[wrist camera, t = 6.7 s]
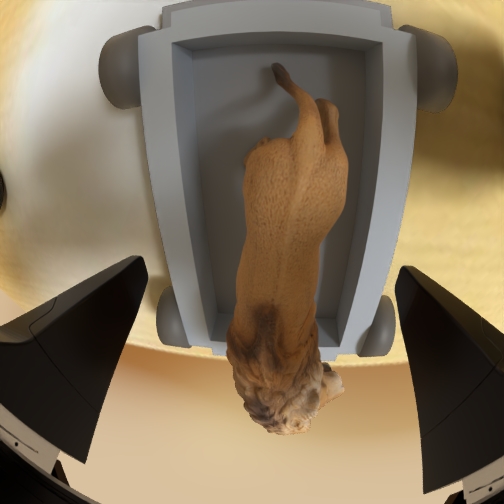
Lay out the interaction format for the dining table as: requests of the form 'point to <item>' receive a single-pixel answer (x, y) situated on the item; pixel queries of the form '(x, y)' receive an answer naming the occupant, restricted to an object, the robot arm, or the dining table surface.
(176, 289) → the chassis
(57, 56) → the dining table surface
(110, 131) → the dining table surface
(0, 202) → the billiard ball
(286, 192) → the lion figurine
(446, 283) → the dining table surface
